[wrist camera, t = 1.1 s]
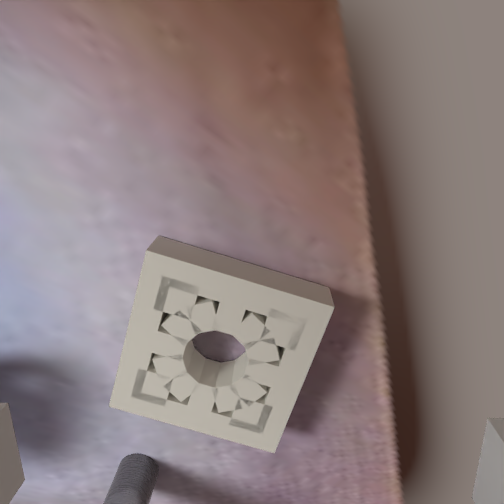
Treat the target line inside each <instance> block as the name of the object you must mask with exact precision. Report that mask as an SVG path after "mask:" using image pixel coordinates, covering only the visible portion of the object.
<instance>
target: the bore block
mask: <svg viewBox="0 0 504 504" xmlns="http://www.w3.org/2000/svg"><path fill="white" fill-rule="evenodd" d="M334 308H335V307H334V303H333V299H332V296H331V292H330V289H329V287H326V286H322V285H319V284H316V283H313V282H309V281H306V280H303V279H299V278H296V277H293V276H290V275H286V274H283V273H280V272H276V271H273V270H270V269H267V268H263V267H260V266H257V265H253V264H250V263H247V262H244V261H240V260H237V259H234V258H230V257H227V256H224V255H221V254H217V253H214V252H211V251H207V250H204V249H201V248H198V247H194V246H191V245H188V244H185V243H181V242H178V241H175V240H171V239H168V238H165V237H162V236H158V237H157V238H156V239H155V240H154V242H153V243H152V244H151V245H150V246H149V248H148V249H147V250H146V253H145V258H144V262H143V266H142V270H141V274H140V278H139V283H138V287H137V291H136V295H135V299H134V304H133V308H132V312H131V316H130V320H129V324H128V329H127V333H126V337H125V341H124V345H123V349H122V354H121V358H120V362H119V366H118V370H117V374H116V379H115V383H114V387H113V391H112V395H111V400H110V404H109V407H112V408H115V409H119V410H123V411H126V412H130V413H133V414H137V415H140V416H144V417H147V418H151V419H155V420H158V421H162V422H165V423H169V424H172V425H176V426H179V427H183V428H186V429H190V430H194V431H197V432H201V433H204V434H208V435H211V436H215V437H218V438H222V439H226V440H229V441H233V442H236V443H240V444H243V445H247V446H250V447H254V448H258V449H261V450H265V451H268V452H272V453H275V451H276V448H277V446H278V443H279V441H280V438H281V436H282V434H283V431H284V429H285V426H286V424H287V422H288V419H289V417H290V414H291V412H292V409H293V407H294V405H295V402H296V400H297V397H298V395H299V392H300V390H301V388H302V385H303V383H304V380H305V378H306V376H307V373H308V371H309V368H310V366H311V363H312V361H313V359H314V356H315V354H316V351H317V349H318V346H319V344H320V342H321V339H322V337H323V334H324V332H325V330H326V327H327V325H328V322H329V320H330V317H331V315H332V313H333V310H334ZM214 330H216V331H220V332H223V333H227V334H230V335H233V336H234V337H235V338H236V339H237V340H238V341H239V342H240V343H241V344H242V345H243V346H244V347H245V350H246V352H245V353H243V354H242V355H241V356H240V357H238V358H237V359H236V360H232V361H226V362H217V361H213V360H210V359H206V358H205V357H204V356H203V355H201V354H200V353H199V352H198V351H197V350H196V349H195V348H194V345H193V341H192V339H193V338H194V337H195V336H196V335H197V334H199V333H203V332H209V331H214Z"/></svg>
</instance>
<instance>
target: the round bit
mask: <svg viewBox="0 0 504 504" xmlns="http://www.w3.org/2000/svg"><path fill="white" fill-rule="evenodd" d="M157 476H158V466H157V464H156V463H155V461H154V460H153V459H151V458H150V457H148V456H146V455H143V454H131V455H128V456H126V457H124V458H123V459H122V461H121V463H120V465H119V467H118V470H117V472H116V475H115V477H114V479H113V482H112V484H111V486H110V489H109V491H108V494H107V496H106V498H105V501H104V503H103V504H149V502H150V499H151V496H152V492H153V489H154V486H155V483H156V479H157Z"/></svg>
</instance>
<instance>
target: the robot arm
mask: <svg viewBox="0 0 504 504" xmlns="http://www.w3.org/2000/svg"><path fill="white" fill-rule="evenodd" d="M24 480H25V478H24V473H23V469H22V464H21V459H20V455H19V450H18V446H17V441H16V437H15V432H14V427H13V423H12V418H11V414H10V409H9V405H8V403H0V504H9V503H10V501H11V500H12V498H13V497H14V495H15V494H16V492H17V491H18V489H19V488H20V486H21V485H22V483H23V482H24ZM472 499H473V501H474V503H475V504H504V418H487V424H486V429H485V434H484V439H483V444H482V449H481V454H480V459H479V464H478V470H477V474H476V479H475V485H474V490H473V494H472Z"/></svg>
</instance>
